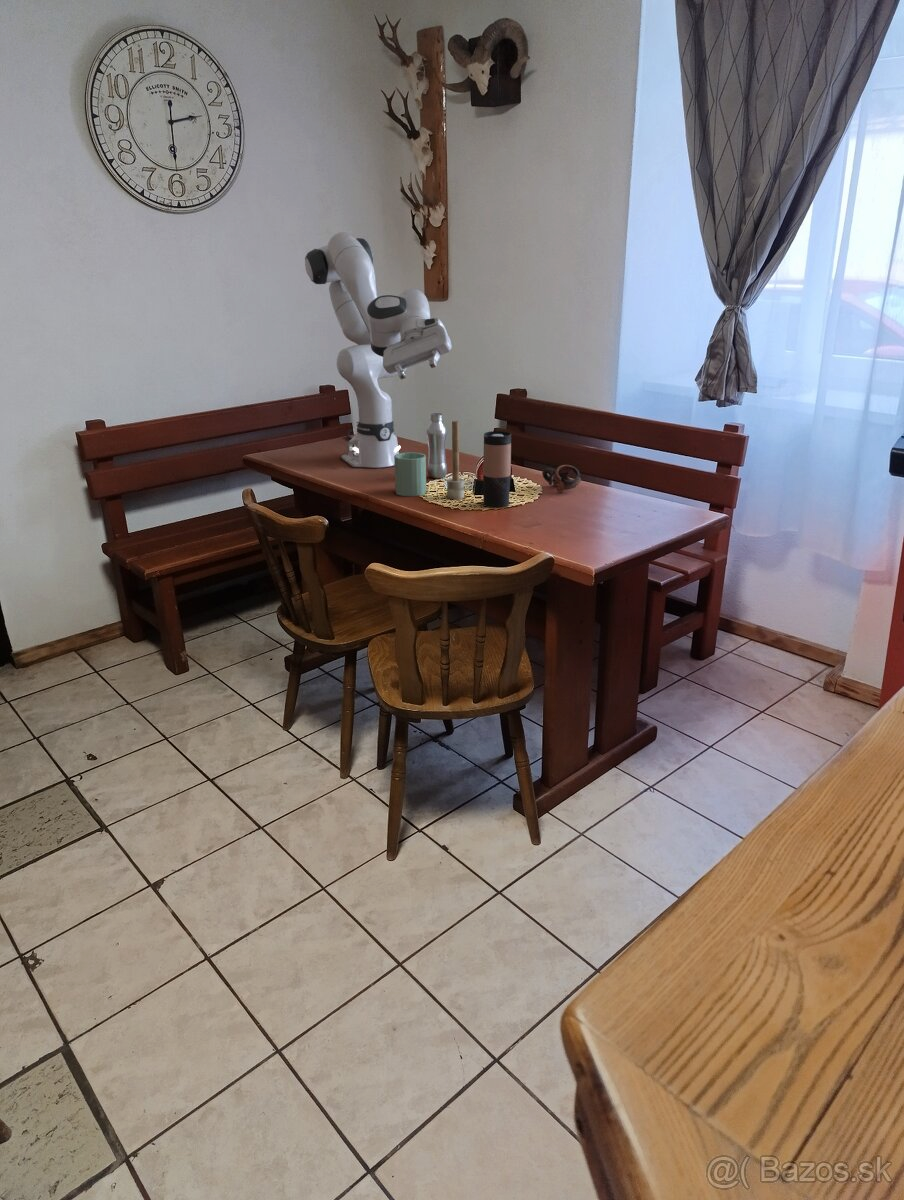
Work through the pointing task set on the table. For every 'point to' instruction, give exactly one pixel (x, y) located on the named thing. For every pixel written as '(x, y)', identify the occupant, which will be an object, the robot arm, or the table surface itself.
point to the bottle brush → (455, 467)
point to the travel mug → (496, 468)
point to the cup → (410, 474)
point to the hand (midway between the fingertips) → (417, 371)
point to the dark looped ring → (562, 477)
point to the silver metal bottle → (436, 447)
